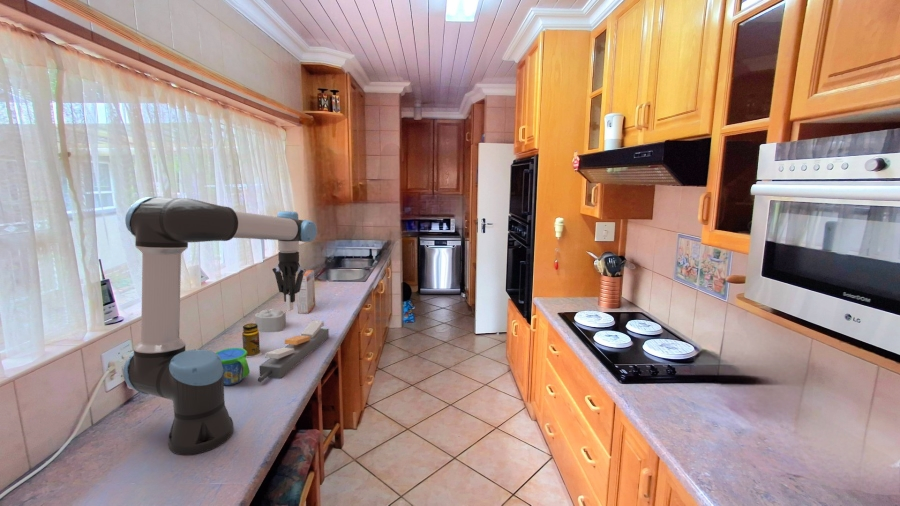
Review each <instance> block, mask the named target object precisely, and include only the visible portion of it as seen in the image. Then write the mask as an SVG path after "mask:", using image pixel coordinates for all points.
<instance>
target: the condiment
mask: <svg viewBox="0 0 900 506" xmlns="http://www.w3.org/2000/svg"><path fill="white" fill-rule="evenodd" d="M241 337H242V349H245V350H246V351H247V356H246V358H251V357H256V356H261V355H263V353H262V351H261V348H260V331H258V325H257V324H255V322H254V323H246V324H244V325H243V326H242V335H241Z"/></svg>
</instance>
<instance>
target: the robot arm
mask: <svg viewBox="0 0 900 506" xmlns="http://www.w3.org/2000/svg"><path fill="white" fill-rule="evenodd" d="M124 222H125V227H126V229H127V231H129V232H130V233H131V235H132V236H134V237H135V248H136V249H138V251H140V253H141V254H142V263H141V264H142V266H141V267H142V268H141V270H142V271H141V273H142V274H141V275H142V277H141V322H140V323H141V325H140V327H141V328H140V329H141V331H140V342H138V344H136V345H135V346H134V347H133V353H131V355H129V358H128V360H126V361H125V363H124V366H123V369H122V371H123V372H122V373H123V374H122V375H123V379H124V381H125V383H126V385H127V386H128V387H129V388H131V389H132V390H135V391H137V392H139V393H141V394H144V395H152V396H154V397H155V396H156V397H159V398H164V399H167V400H172V404H173V405H172V407H173V413H174V414H173V415H174V416H173V417H174V418H173V421H172V424H171V427H170V431H169V434H168V437H167V438H168V448H169V450H170V451H171V452H173V454H177V455H183V456H184V455H185V456H186V455H187V456H189V455H197V454H201V453H205V452H208V451H211V450H213V449H215V448H217V447H219V446H221V445H223V444H224V443H225V442H227V441H228V440H229V439H230V438H231V437H232V435H233V433H234V431H235V430H234V421H233V419H232V417H231V416H230V414H229V412H228V409H227V406H226V405H225V401H226V400H225V386H224V380H223V366H222V362H221V358H220V356H219V355H218V354H216V352H214V351H213V350H209V349H189V350H186V345H187V344H186V342H185V341H184V340H183V339H181V338H180V324H181V323H180V322H181V321H180V320H181V319H180V318H181V313H180V312H181V279H182V278H181V275H182V272H181V271H182V270H181V269H182V267H181V266H182V253H183V252H184V251H186V250H187V249H188V248H189V243H203V242H228V241H230V240H232V239H250V240H252V239H254V240H272V241H274V240H275V241H277V244H278V245H277V247H278V249H277V251H278V255H277V256H278V265H277V266H276V267H274V268H272V272H273V273H274V276H275V277H274V278H275V280H276V283H277V288H278V292H279V293H283V301H284V303H285V310H286V311H287V312H291V311H292V310H294V303H295V302H296V295H297V293H298V292H300V288H301V283H302V279H303V275H304V273H305V272H306V270H307V269H305V268H302V267H301V265H300V252H299V250H300V242H304V243H305V242H306V243H309V242H312V241H314V240H315V239H316V237H317V234H318V233H317V232H318V228H317V224H316V223H315V222H314V221H312V220H307V219H299V213H298V212H297V211H289V210H288V211H287V210H286V211H285V210H284V211H283V210H280V211H278V212H277V216H273V215H264V214H257V213H252V212H251V213H250V212H244V211H243V212H242V211H236V210H234V209H233V208H231V207H229V206H225V205H218V204H213V203H210V202H205V201H202V200H197V199H193V198H185V197H183V198H182V197H166V196H160V195H159V196H147V197H142V198H140V199H137V200H136V201H135V202H134V203H132V204H131V205H130V206H129V207H128V208H127V212H126V214H125V218H124ZM296 276H297V280H296ZM286 311H285V312H286Z"/></svg>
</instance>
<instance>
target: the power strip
mask: <svg viewBox="0 0 900 506" xmlns="http://www.w3.org/2000/svg"><path fill="white" fill-rule="evenodd" d="M329 330H330V329H329V328H322V327H321V328H320V330H319V331H318V332H317V333H316V335H315V336H314V337H313V338H310V340H309V341H306V342H303V343H300V344H298V345H293V344H286V346H285V347H284V348H294V353H292V354H289V355H287V356H284V357H282V358H279V359H275V358H268V359H266V360H265V361H264V362H263V363H261V364H260V365H258V366H259V377H258V379H257V381H258V382H259V383H261V382H264V380H265V379H267V378H271V379H272V378H273V379H282V378H283V377H284V376H285V375H286V374H287V373H289V372H290V371H291V370H293V368H295V367H296V366H297V365H298V364H299V363H301V362H302V361H304V359H305V358H306V357H308V356H309V355H310V354H311V353H313V351H314V350H315V349H317V348H318V347H320V345H322V344H323V343H325V341H327V340H328V339H329V338H328V337H330V335H329Z"/></svg>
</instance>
